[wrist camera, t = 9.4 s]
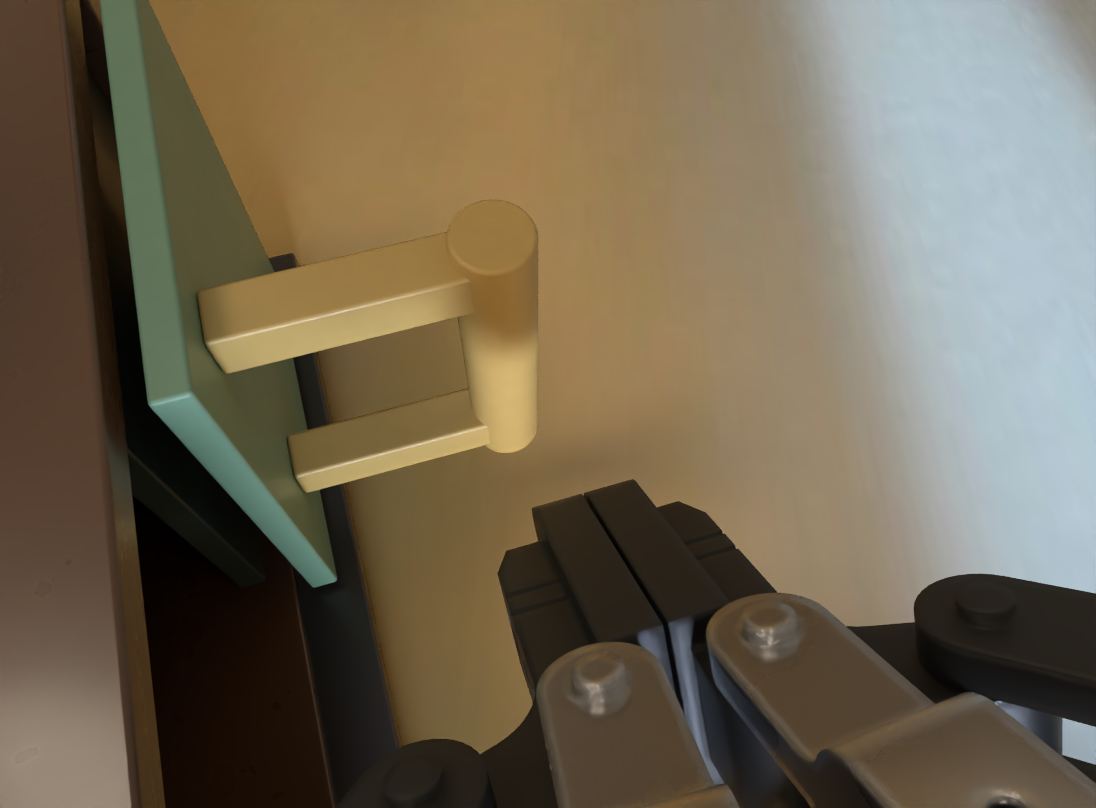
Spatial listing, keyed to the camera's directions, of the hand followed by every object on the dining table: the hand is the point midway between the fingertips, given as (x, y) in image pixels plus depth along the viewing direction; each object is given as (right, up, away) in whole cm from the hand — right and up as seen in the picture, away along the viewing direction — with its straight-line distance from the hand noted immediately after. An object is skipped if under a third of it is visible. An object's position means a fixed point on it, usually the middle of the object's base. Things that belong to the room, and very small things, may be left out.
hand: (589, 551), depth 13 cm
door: (-4, +2, +10) cm, 11 cm away
